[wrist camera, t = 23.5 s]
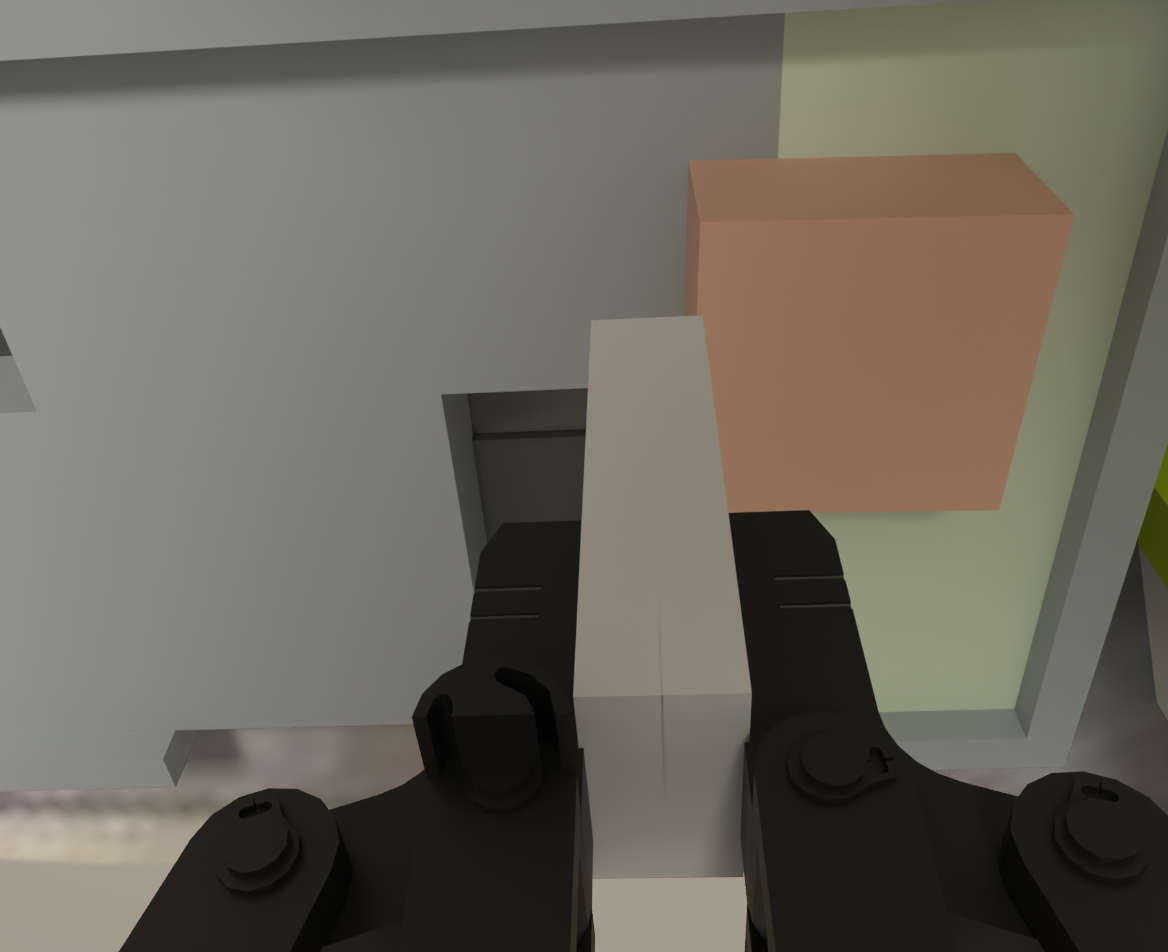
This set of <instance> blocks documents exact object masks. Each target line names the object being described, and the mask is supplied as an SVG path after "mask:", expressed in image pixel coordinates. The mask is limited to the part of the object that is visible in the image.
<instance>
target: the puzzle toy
mask: <svg viewBox="0 0 1168 952" xmlns="http://www.w3.org/2000/svg"><path fill="white" fill-rule="evenodd" d="M1138 545H1139V554H1140V563H1141V571H1142V580H1143V589H1144V597H1145V606H1146V614H1147V623H1148V632H1149V640H1150V649H1151V658H1152V666H1153V675H1154V683H1155V692H1156V701H1157V703H1158V705H1159V707H1160V708H1161V710H1162V712H1163V714H1164V715H1165V717H1166V719H1167V721H1168V445H1167V448H1166V451H1165V454H1164V457H1163V461H1162V464H1161V467H1160V470H1159V473H1158V476H1157V479H1156V482H1155V486H1154V489H1153V492H1152V495H1151V498H1150V501H1149V504H1148V507H1147V511H1146V514H1145V517H1144V520H1143V523H1142V526H1141V529H1140V532H1139V536H1138Z"/></svg>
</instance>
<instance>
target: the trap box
mask: <svg viewBox="0 0 1168 952" xmlns="http://www.w3.org/2000/svg"><path fill="white" fill-rule="evenodd" d="M991 153H1016V154H1017V155H1018V156H1019V157H1020V158H1021V159H1022V160H1023V161H1024V163H1025V164H1026V165H1027V166H1028V167H1029V168H1030V169H1031V170H1032V171H1033V172H1034V173H1035V174H1036V175H1037V176H1038V177H1039V178H1040V179H1041V180H1042V181H1043V182H1044V183H1045V184H1046V185H1047V186H1048V187H1049V188H1050V189H1051V190H1052V191H1053V192H1054V193H1055V194H1056V196H1057V197H1058V198H1059V199H1060V200H1061V201H1062V202H1063V203H1064V204H1065V205H1066V206H1067V207H1068V208H1069V209H1070V210H1071V211H1072V212H1073V213H1074V214H1075V215H1074V218H1073V222H1072V226H1071V230H1070V234H1069V238H1068V242H1067V246H1066V250H1065V254H1064V258H1063V262H1062V266H1061V269H1060V273H1059V277H1058V281H1057V285H1056V289H1055V293H1054V297H1053V301H1052V305H1051V309H1050V313H1049V317H1048V321H1047V324H1046V328H1045V332H1044V336H1043V340H1042V344H1041V348H1040V352H1039V356H1038V360H1037V364H1036V368H1035V372H1034V376H1033V379H1032V383H1031V387H1030V391H1029V395H1028V399H1027V403H1026V407H1025V411H1024V415H1023V419H1022V423H1021V427H1020V431H1019V434H1018V438H1017V442H1016V446H1015V450H1014V454H1013V458H1012V462H1011V466H1010V470H1009V474H1008V478H1007V482H1006V485H1005V489H1004V493H1003V497H1002V501H1001V505H1000V509H999V510H995V511H911V512H828V513H812V514H813V515H814V516H815V517H816V518H817V519H818V520H819V522H820V523H821V524H822V525H823V526H824V527H825V528H826V529H827V531H828V532H829V533H830V534H831V535H832V536H833V537H834V538H835V541H836V545H837V548H838V552H839V556H840V560H841V564H842V568H843V572H844V580H846V584H847V588H848V592H849V596H850V600H851V609H853V612H854V616H855V620H856V624H857V628H858V632H859V636H860V640H861V644H862V648H863V652H864V656H865V660H866V664H867V668H868V672H869V676H870V680H871V684H872V688H873V691H874V695H875V699H876V703H877V707H878V711H879V714H880V716H881V719H882V721H883V723H884V726H885V728H886V730H887V731H888V733H889V734H890V735H891V737H892V738H893V739H894V741H895V742H896V743H897V745H898V746H899V747H900V748H902V749H903V750H904V751H905V752H906V753H907V754H909V755H910V756H911V757H912V758H913V759H914V760H915V761H917V762H919V763H920V764H922V765H924V766H926V767H927V768H929V769H931V770H960V769H1004V768H1047V767H1065V764H1066V761H1067V758H1068V754H1069V751H1070V748H1071V745H1072V742H1073V739H1074V736H1075V733H1076V729H1077V726H1078V723H1079V720H1080V717H1081V714H1082V711H1083V708H1084V704H1085V701H1086V698H1087V695H1088V692H1089V689H1090V686H1091V683H1092V679H1093V676H1094V673H1095V670H1096V667H1097V664H1098V661H1099V658H1100V654H1101V651H1102V648H1103V645H1104V642H1105V639H1106V636H1107V632H1108V629H1109V626H1110V623H1111V620H1112V617H1113V614H1114V611H1115V607H1116V604H1117V601H1118V598H1119V595H1120V592H1121V589H1122V586H1123V582H1124V579H1125V576H1126V573H1127V570H1128V567H1129V564H1130V561H1131V557H1132V554H1133V551H1134V548H1135V545H1136V542H1137V539H1138V536H1139V532H1140V529H1141V526H1142V523H1143V520H1144V517H1145V514H1146V511H1147V507H1148V504H1149V501H1150V498H1151V495H1152V492H1153V489H1154V486H1155V482H1156V479H1157V476H1158V473H1159V470H1160V467H1161V464H1162V461H1163V457H1164V454H1165V451H1166V448H1167V445H1168V0H0V791H40V790H84V789H128V788H172V787H176V785H177V783H178V780H179V778H180V776H181V773H182V771H183V768H184V766H185V764H186V761H187V759H188V756H189V754H190V751H191V749H192V747H193V744H194V742H195V739H196V737H197V734H198V732H199V730H212V729H251V728H290V727H328V726H367V725H406V724H413V720H412V715H413V713H414V711H415V709H416V706H417V704H418V702H419V700H420V697H421V695H422V693H423V692H424V691H425V690H426V689H427V688H428V687H429V686H431V685H432V684H433V683H434V682H435V681H436V680H437V679H438V678H439V677H440V676H441V675H442V674H443V673H446V672H448V671H450V670H452V669H454V668H456V667H458V666H460V665H462V662H463V656H464V649H465V643H466V637H467V631H468V625H469V622H470V613H471V607H472V601H473V594H475V582H476V576H477V570H478V564H479V558H480V553H481V551H482V550H483V549H484V547H485V546H486V545H487V543H488V542H489V541H490V539H491V538H492V537H493V535H494V534H495V533H496V531H497V530H498V529H499V527H500V526H501V525H502V523H515V522H546V521H577V520H582V502H583V482H584V461H585V440H586V430H566V431H541V432H517V433H492V434H473V429H472V423H471V416H470V409H469V402H468V396H467V393H487V392H511V391H534V390H557V389H581V388H588V377H589V357H590V336H591V320H609V319H632V318H654V317H676V316H684V313H685V277H686V241H687V205H688V170H689V161H698V160H740V159H782V158H824V157H866V156H908V155H950V154H991Z"/></svg>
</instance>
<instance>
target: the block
mask: <svg viewBox="0 0 1168 952" xmlns="http://www.w3.org/2000/svg"><path fill="white" fill-rule="evenodd" d="M1074 215H1075V214H1074V213H1073V212H1072V211H1071V210H1070V209H1069V208H1068V207H1067V206H1066V205H1065V204H1064V203H1063V202H1062V201H1061V200H1060V199H1059V198H1058V197H1057V196H1056V194H1055V193H1054V192H1053V191H1052V190H1051V189H1050V188H1049V187H1048V186H1047V185H1046V184H1045V183H1044V182H1043V181H1042V180H1041V179H1040V178H1039V177H1038V176H1037V175H1036V174H1035V173H1034V172H1033V171H1032V170H1031V169H1030V168H1029V167H1028V166H1027V165H1026V164H1025V163H1024V161H1023V160H1022V159H1021V158H1020V157H1019V156H1018V155H1017V154H1016V153H991V154H950V155H908V156H866V157H824V158H782V159H740V160H698V161H689V170H688V205H687V241H686V277H685V313H684V316H698V315H703V322H704V329H705V337H706V345H707V352H708V360H709V368H710V375H711V383H712V391H713V399H714V406H715V414H716V422H717V429H718V437H719V445H720V452H721V460H722V468H723V475H724V483H725V491H726V499H727V506H728V513H735V512H766V511H796V510H810V511H811V513H828V512H911V511H995V510H999V509H1000V505H1001V501H1002V497H1003V493H1004V489H1005V485H1006V482H1007V478H1008V474H1009V470H1010V466H1011V462H1012V458H1013V454H1014V450H1015V446H1016V442H1017V438H1018V434H1019V431H1020V427H1021V423H1022V419H1023V415H1024V411H1025V407H1026V403H1027V399H1028V395H1029V391H1030V387H1031V383H1032V379H1033V376H1034V372H1035V368H1036V364H1037V360H1038V356H1039V352H1040V348H1041V344H1042V340H1043V336H1044V332H1045V328H1046V324H1047V321H1048V317H1049V313H1050V309H1051V305H1052V301H1053V297H1054V293H1055V289H1056V285H1057V281H1058V277H1059V273H1060V269H1061V266H1062V262H1063V258H1064V254H1065V250H1066V246H1067V242H1068V238H1069V234H1070V230H1071V226H1072V222H1073V218H1074Z"/></svg>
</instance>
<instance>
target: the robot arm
mask: <svg viewBox="0 0 1168 952" xmlns="http://www.w3.org/2000/svg"><path fill="white" fill-rule="evenodd" d="M412 720H413V724H414V728H415V732H416V736H417V740H418V744H419V748H420V752H421V756H422V760H423V764H424V768H425V769H424V770H423V771H422V772H421V773H420V774H418V775H417V776H415V777H414V778H412V779H411V780H409V781H408V782H406V783H405V784H403V785H401V786H399V787H397V788H394V789H392V790H389V791H387V792H385V793H382V794H380V795H377V796H373V797H370V798H367V799H364V800H360V801H357V802H354V803H351V804H347V805H344V806H341V807H338V808H334V809H331V810H329V809H328V808H327V807H326V805H325V804H324V803H323V802H322V800H321V799H319V798H317V797H315V796H312V795H310V794H308V793H305V792H303V791H301V790H298V789H274V788H269V789H265V790H262V791H259V792H255V793H252V794H249V795H246V796H242V797H239V798H238V799H236V800H234V801H233V802H231V803H230V804H228V805H227V806H225V807H224V808H222V809H220V810H219V811H217V812H216V813H214V814H213V815H212V816H211V817H210V818H209V819H208V820H207V821H206V822H205V823H204V825H203V826H202V827H201V828H200V829H199V830H198V831H197V833H196V834H195V835H194V836H193V837H192V838H191V840H190V841H189V843H188V844H187V846H186V847H185V849H184V851H183V852H182V854H181V855H180V857H179V858H178V860H177V862H176V863H175V865H174V866H173V868H172V870H171V871H170V873H169V874H168V876H167V877H166V879H165V880H164V882H163V884H162V885H161V887H160V888H159V890H158V891H157V893H156V894H155V896H154V898H153V899H152V901H151V902H150V904H149V905H148V907H147V909H146V910H145V912H144V913H143V915H142V916H141V918H140V919H139V921H138V923H137V924H136V926H135V928H134V929H133V931H132V932H131V934H130V935H129V937H128V938H127V940H126V941H125V943H124V945H123V946H122V948H121V949H120V951H119V952H595V932H594V923H593V914H592V876H593V879H594V878H681V877H682V878H683V877H684V878H685V877H743V870H744V876H745V885H746V894H747V921H746V940H745V952H1168V815H1167V814H1165V813H1164V812H1163V811H1162V810H1161V809H1160V808H1159V807H1158V806H1157V805H1156V804H1155V803H1154V802H1153V801H1152V800H1151V799H1150V798H1149V797H1147V796H1145V795H1143V794H1141V793H1140V792H1138V791H1136V790H1134V789H1132V788H1130V787H1129V786H1127V785H1125V784H1123V783H1121V782H1120V781H1118V780H1115V779H1111V778H1107V777H1103V776H1099V775H1095V774H1091V773H1087V772H1064V773H1051V774H1049V775H1047V776H1045V777H1042V778H1040V779H1038V780H1036V781H1034V782H1032V783H1029V784H1027V786H1026V787H1025V788H1024V790H1023V791H1022V793H1021V794H1020V795H1019V797H1018V796H1014V795H1010V794H1006V793H1002V792H998V791H994V790H991V789H987V788H983V787H979V786H975V785H971V784H967V783H964V782H960V781H957V780H955V779H952V778H949V777H946V776H943V775H941V774H938V773H936V772H934V771H933V770H931V769H929V768H927V767H926V766H924V765H922V764H920V763H919V762H917V761H915V760H914V759H913V758H912V757H911V756H910V755H909V754H907V753H906V752H905V751H904V750H903V749H902V748H900V747H899V746H898V745H897V743H896V742H895V741H894V739H893V738H892V737H891V735H890V734H889V733H888V731H887V730H886V728H885V726H884V723H883V721H882V719H881V716H880V714H879V711H878V707H877V703H876V699H875V695H874V691H873V688H872V684H871V680H870V676H869V672H868V668H867V664H866V660H865V656H864V652H863V648H862V644H861V640H860V636H859V632H858V628H857V624H856V620H855V616H854V612H853V609H851V600H850V596H849V592H848V588H847V584H846V580H844V572H843V568H842V564H841V560H840V556H839V552H838V548H837V545H836V541H835V538H834V537H833V536H832V535H831V534H830V533H829V532H828V531H827V529H826V528H825V527H824V526H823V525H822V524H821V523H820V522H819V520H818V519H817V518H816V517H815V516H814V515H813V514H812V513H811V511H810V510H796V511H766V512H735V513H728V506H727V499H726V491H725V483H724V475H723V468H722V460H721V452H720V445H719V437H718V429H717V422H716V414H715V406H714V399H713V391H712V383H711V375H710V368H709V360H708V352H707V345H706V337H705V329H704V322H703V315H698V316H676V317H654V318H632V319H609V320H591V336H590V357H589V377H588V398H587V419H586V440H585V461H584V482H583V502H582V520H577V521H546V522H515V523H502V525H501V526H500V527H499V529H498V530H497V531H496V533H495V534H494V535H493V537H492V538H491V539H490V541H489V542H488V543H487V545H486V546H485V547H484V549H483V550H482V551H481V553H480V558H479V564H478V570H477V576H476V582H475V594H473V601H472V607H471V613H470V622H469V625H468V631H467V637H466V643H465V649H464V656H463V662H462V665H460V666H458V667H456V668H454V669H452V670H450V671H448V672H446V673H443V674H442V675H441V676H440V677H439V678H438V679H437V680H436V681H435V682H434V683H433V684H432V685H431V686H429V687H428V688H427V689H426V690H425V691H424V692H423V693H422V695H421V697H420V700H419V702H418V704H417V706H416V709H415V711H414V713H413V715H412Z"/></svg>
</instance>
